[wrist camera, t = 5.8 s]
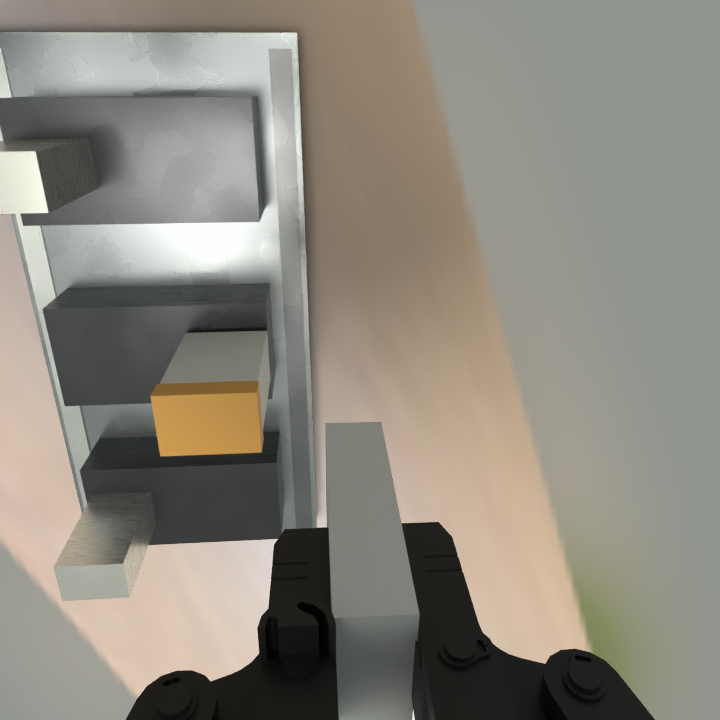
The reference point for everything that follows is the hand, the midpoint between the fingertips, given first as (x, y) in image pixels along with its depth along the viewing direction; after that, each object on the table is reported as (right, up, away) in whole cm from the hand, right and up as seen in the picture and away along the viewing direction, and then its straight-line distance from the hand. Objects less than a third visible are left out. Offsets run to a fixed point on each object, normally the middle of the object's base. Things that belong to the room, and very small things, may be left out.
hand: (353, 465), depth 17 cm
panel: (-8, +5, +10) cm, 13 cm away
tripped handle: (-5, +3, +6) cm, 8 cm away
